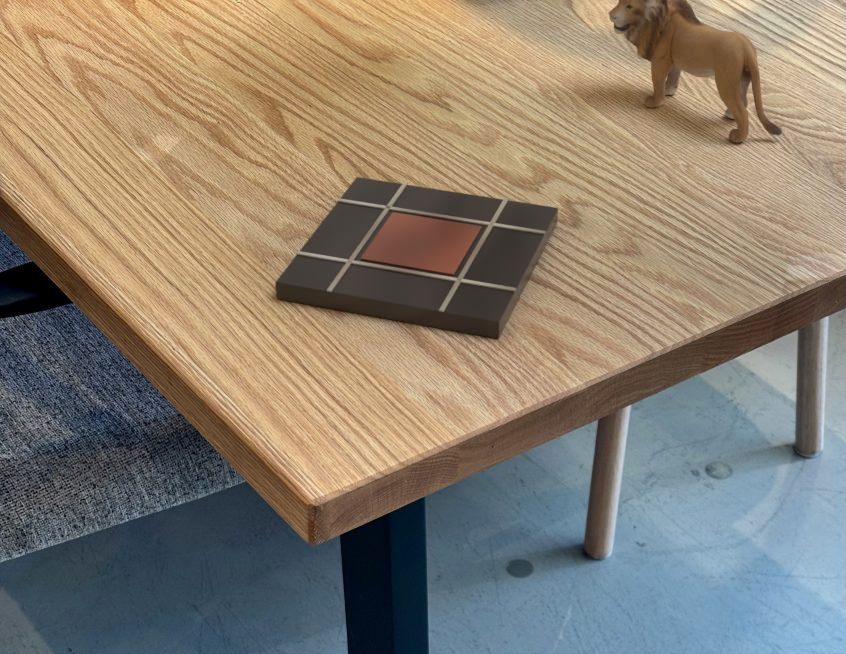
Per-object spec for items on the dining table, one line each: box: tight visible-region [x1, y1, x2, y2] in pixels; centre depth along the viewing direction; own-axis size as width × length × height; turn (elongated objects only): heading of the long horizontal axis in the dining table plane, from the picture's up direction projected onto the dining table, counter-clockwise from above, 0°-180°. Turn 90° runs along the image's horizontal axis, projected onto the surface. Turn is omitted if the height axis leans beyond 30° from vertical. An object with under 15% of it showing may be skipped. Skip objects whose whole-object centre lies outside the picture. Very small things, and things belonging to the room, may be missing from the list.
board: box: [274, 176, 559, 339], centre depth 83 cm, size 14×14×1 cm
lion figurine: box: [608, 0, 783, 144], centre depth 96 cm, size 15×5×9 cm, turn 50°
